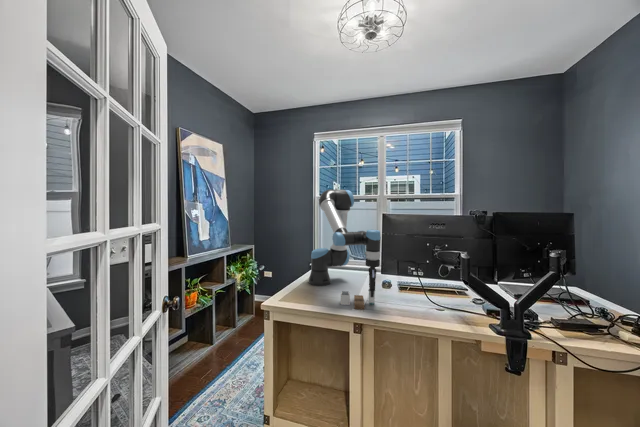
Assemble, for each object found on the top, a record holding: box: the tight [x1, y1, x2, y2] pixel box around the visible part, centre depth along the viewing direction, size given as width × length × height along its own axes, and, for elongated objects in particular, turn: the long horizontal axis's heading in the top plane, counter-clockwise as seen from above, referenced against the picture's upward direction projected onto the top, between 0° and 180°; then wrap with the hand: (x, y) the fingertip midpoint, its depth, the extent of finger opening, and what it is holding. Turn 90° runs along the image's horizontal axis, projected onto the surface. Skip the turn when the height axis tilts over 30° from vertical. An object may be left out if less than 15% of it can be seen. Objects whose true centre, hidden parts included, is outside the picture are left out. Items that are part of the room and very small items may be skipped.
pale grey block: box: [340, 290, 351, 306], centre depth 148 cm, size 5×5×6 cm
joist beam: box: [353, 294, 365, 310], centre depth 146 cm, size 14×5×2 cm, turn 174°
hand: (371, 301), depth 146 cm, fingers closed on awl, 2 cm apart
